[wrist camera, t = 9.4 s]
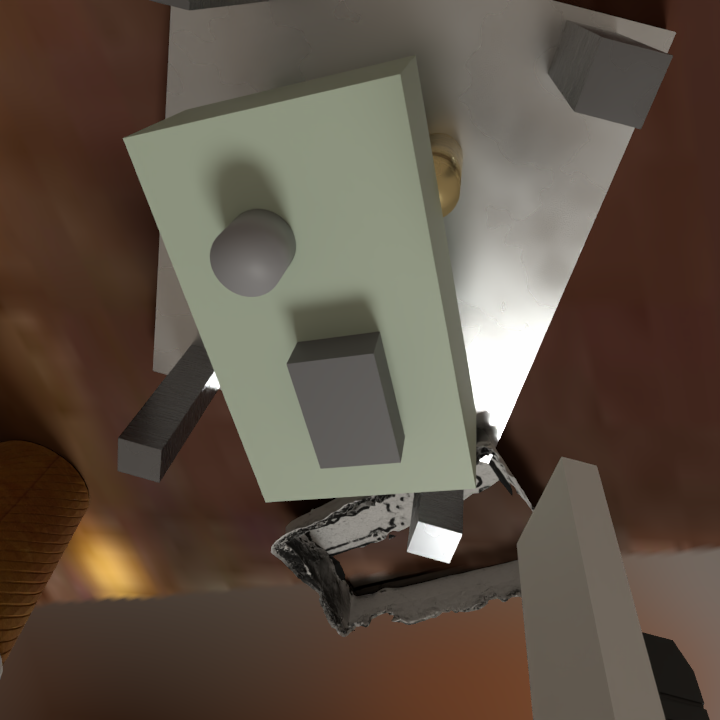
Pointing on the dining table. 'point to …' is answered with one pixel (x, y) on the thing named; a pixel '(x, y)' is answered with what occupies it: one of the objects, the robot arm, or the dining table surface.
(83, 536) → the dining table surface
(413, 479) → the board
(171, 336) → the chassis
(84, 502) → the disposable coffee cup
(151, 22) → the dining table surface
